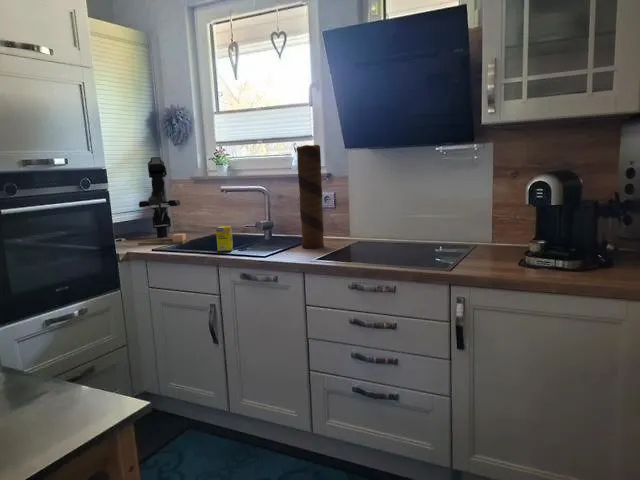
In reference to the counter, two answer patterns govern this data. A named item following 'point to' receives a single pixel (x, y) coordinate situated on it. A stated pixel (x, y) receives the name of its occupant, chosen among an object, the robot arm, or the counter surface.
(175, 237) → the terracotta block
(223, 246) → the supplement box
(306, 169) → the wafer roll
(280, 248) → the counter surface
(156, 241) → the trap lane
